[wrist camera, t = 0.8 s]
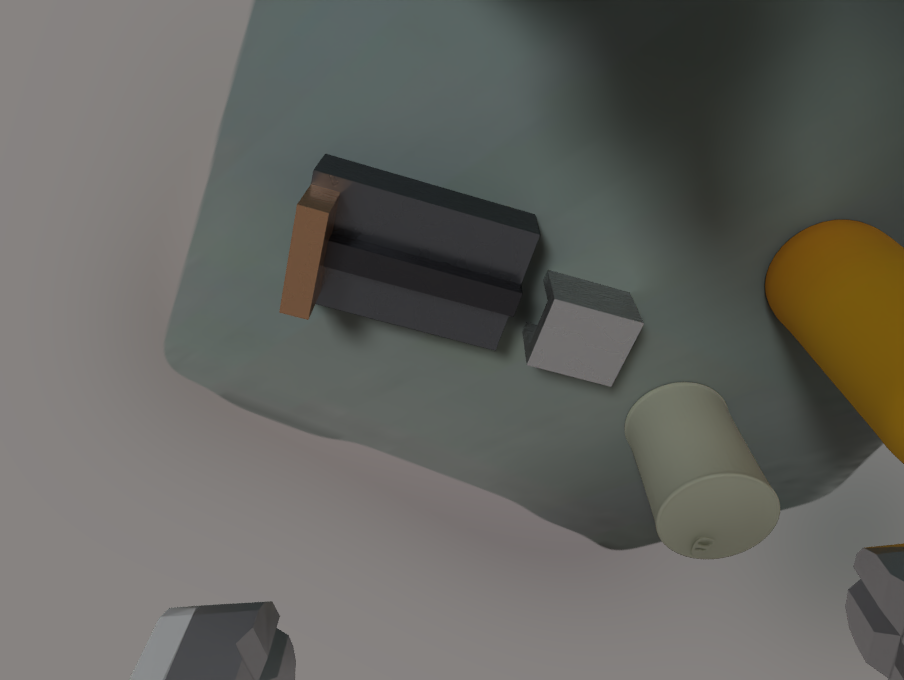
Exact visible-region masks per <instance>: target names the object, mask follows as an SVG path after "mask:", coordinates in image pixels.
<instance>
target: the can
mask: <svg viewBox="0 0 904 680" xmlns="http://www.w3.org/2000/svg"><path fill="white" fill-rule="evenodd" d="M625 436H626V439H627V441H628V443H629V445H630V446H631V449H632V451H633V454H634V457H635V460H636V463H637V466H638V469H639V472H640V475H641V479H642V482H643V485H644V488H645V491H646V494H647V497H648V501H649V504H650V507H651V510H652V514H653V517H654V520H655V524H656V530H657V533H658V536H659V537H660V539H661V541H662V542H663V543H664V544H665V545H666V546H667V547H668V548H669V549H671V550H672V551H674V552H676V553H678V554H681V555H683V556H686V557H690V558H697V559H718V558H724V557H729V556H733V555H736V554H739V553H741V552H744V551H746V550H748V549H750V548H752V547H754V546H755V545H757V544H758V543H760V542H761V541H762V540H763V539H765V538H766V537H767V536H768V535H769V534H770V533H771V531H772V530H773V529H774V527H775V525H776V523H777V521H778V519H779V515H780V502H779V499H778V496H777V494H776V493H775V491H774V490H773V489H772V488H771V486H770V484H769V483H768V481H767V479H766V478H765V476H764V474H763V473H762V471H761V469H760V467H759V466H758V464H757V462H756V460H755V459H754V457H753V455H752V453H751V452H750V450H749V448H748V446H747V445H746V443H745V441H744V439H743V438H742V436H741V434H740V432H739V430H738V428H737V427H736V425H735V423H734V421H733V419H732V417H731V415H730V413H729V411H728V407H727V405H726V402H725V401H724V399H723V398H722V397H721V396H720V395H719V394H718V393H717V392H716V391H714V390H713V389H711V388H709V387H707V386H705V385H702V384H698V383H693V382H676V383H670V384H666V385H663V386H660V387H658V388H655V389H653V390H651V391H650V392H648V393H646V394H645V395H644V396H642V397H641V398H640V399H639V400H638V401H637V402H636V403H635V404H634V405H633V406H632V408H631V409H630V411H629V413H628V415H627V418H626V421H625Z"/></svg>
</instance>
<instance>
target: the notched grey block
mask: <svg viewBox="0 0 904 680" xmlns="http://www.w3.org/2000/svg"><path fill="white" fill-rule="evenodd" d="M543 282H544V286H545V291H546V295H547V300H548V301H547V304H546V306H545V309H544V311H543V313H542V316H541V318H540V320H539V323H538V325H535V324H532V323H528V322H526V324H525V327H524V329H523V331H522V334H523V341H524V349H525V356H526V363H527V365H529V366H533V367H536V368H540V369H544V370H548V371H552V372H556V373H560V374H564V375H567V376H571V377H575V378H579V379H583V380H587V381H591V382H594V383H598V384H602V385H606V386H610V387H611V386H612V384H613V382H614V380H615V378H616V377H617V375H618V373H619V371H620V369H621V367H622V365H623V363H624V361H625V359H626V357H627V355H628V354H629V352H630V350H631V348H632V346H633V344H634V342H635V340H636V338H637V336H638V334H639V332H640V331H641V329H642V327H643V325H644V322H643V320H642V318H641V315H640V313H639V311H638V309H637V307H636V305H635V303H634V300H633V298H632V296H631V294H630V292H626V291H623V290H619V289H616V288H612V287H608V286H605V285H601V284H598V283H594V282H591V281H587V280H583V279H580V278H576V277H573V276H569V275H566V274H562V273H558V272H555V271H551V270H547V272H546V275H545V277H544V280H543Z"/></svg>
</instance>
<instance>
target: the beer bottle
mask: <svg viewBox="0 0 904 680" xmlns="http://www.w3.org/2000/svg"><path fill="white" fill-rule="evenodd" d="M765 292H766V296H767V300H768V303H769V305H770V307H771V309H772V311H773V312H774V314H775V315H776V317H777V318H778V320H779V321H780V322H781V323H782V324H783V325H784V326H785V327H786V328H787V329H788V330H789V331H790V332H791V333H792V335H793V336H794V337H795V338H796V339H797V340H798V342H799V343H800V344H801V345H802V346H803V347H804V349H805V350H806V351H807V352H808V353H809V355H810V356H811V357H812V358H813V359H814V361H815V362H816V363H817V364H818V365H819V366H820V368H821V369H822V370H823V371H824V372H825V374H826V375H827V376H828V377H829V378H830V380H831V381H832V382H833V383H834V384H835V385H836V387H837V388H838V389H839V390H840V391H841V393H842V394H843V395H844V396H845V397H846V398H847V400H848V401H849V402H850V403H851V404H852V406H853V407H854V408H855V409H856V410H857V412H858V413H859V414H860V415H861V416H862V417H863V419H864V420H865V421H866V422H867V423H868V425H869V426H870V427H871V428H872V429H873V431H874V432H875V433H876V434H877V435H878V437H879V438H880V439H881V440H882V442H883V443H884V444H885V445H886V447H887V448H888V449H889V450H890V451H891V452H892V453H893V454H894V455H895V456H896V457H897V458H898V459H899V460H900V461H901V462H902V463H903V464H904V248H903V247H902V246H901V245H899V244H898V243H897V242H896V241H894V240H893V239H892V238H890V237H889V236H888V235H886V234H885V233H883V232H882V231H880V230H879V229H877V228H875V227H873V226H870V225H868V224H865V223H863V222H859V221H853V220H831V221H826V222H821V223H819V224H816V225H813V226H810V227H808V228H806V229H804V230H802V231H801V232H799V233H798V234H796V235H795V236H793V237H792V238H791V239H790V240H788V241H787V242H786V243H785V244H784V245H783V246H782V247H781V248H780V250H779V251H778V252H777V253H776V255H775V256H774V258H773V260H772V262H771V263H770V266H769V268H768V271H767V275H766V281H765Z"/></svg>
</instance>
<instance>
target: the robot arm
mask: <svg viewBox="0 0 904 680" xmlns="http://www.w3.org/2000/svg"><path fill="white" fill-rule="evenodd" d="M854 569H855V570H856V572H857V573H858V575H859V576H860V578H861V579H860V580H859V581H858V582H856V583H855V584H854V585H853V586H852V587H851V588H850V589H848V594H847V600H846V613H847V619H848V624H849V628H850V631H851V633H852V636H853V638H854V641H855V643H856V645H857V647H858V649H859V651H860V652H861V654H862V656H863V658H864V660H865V661H866V663H868V664H869V665H870V666H872V667H873V668H875V669H876V670H877V671H879V672H880V673H882V674H883V675H885V676H886V677H887V678H888V680H904V544H896V545H886V546H876V547H867V548H862V549H861V550H860V551H859V552H858V553H857V555H856V559H855V563H854ZM279 617H280V616H279V614H278V612H277V610H276V608H275V606H274V604H273V602H254V603H237V604H220V605H204V606H191V607H177V608H169V609H168V610H167V611H166V612H165V613H164V614H163V615H162V616H161V617H160V618H159V620H158V622H157V624H156V626H155V628H154V630H153V632H152V634H151V636H150V638H149V640H148V642H147V644H146V647H145V648H144V650H143V652H142V654H141V657H140V659H139V661H138V663H137V665H136V667H135V669H134V671H133V673H132V675H131V677H130V679H129V680H295V667H296V660H295V654H294V648H293V645H292V642H291V640H290V638H289V635H287V634H285V633H284V632H282V631H281V630H279V629H277V628H276V627H277V623H278V620H279Z"/></svg>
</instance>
